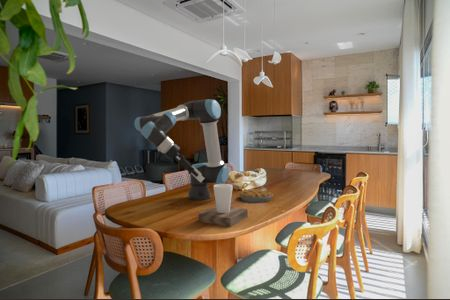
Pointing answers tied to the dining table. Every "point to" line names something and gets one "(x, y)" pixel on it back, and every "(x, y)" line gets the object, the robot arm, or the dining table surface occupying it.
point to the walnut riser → (223, 216)
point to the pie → (255, 195)
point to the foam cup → (223, 197)
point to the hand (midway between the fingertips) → (201, 178)
